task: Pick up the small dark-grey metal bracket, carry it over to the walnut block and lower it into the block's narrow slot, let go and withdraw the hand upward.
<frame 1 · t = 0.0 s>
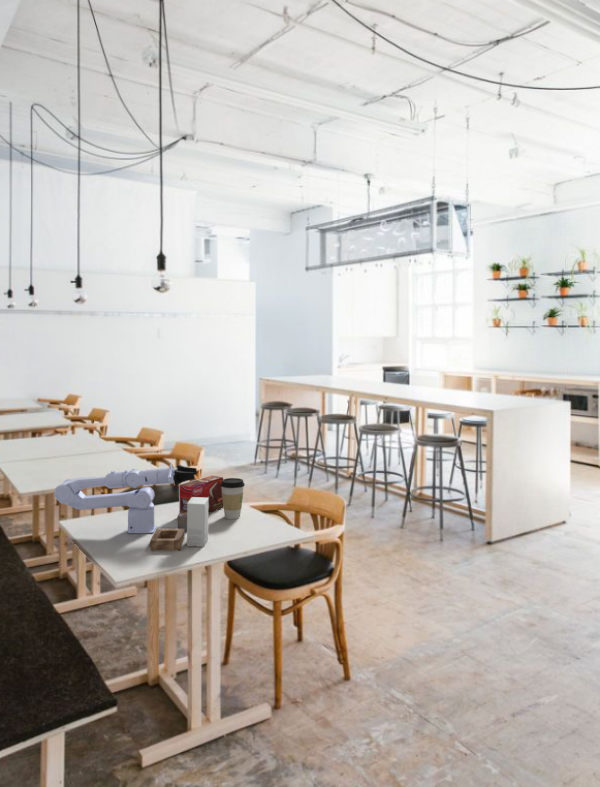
hand: (195, 473, 237), 22 cm above the table, tool horizontal, fingers open, 7 cm apart
skincare box: (198, 543, 225), on the table
ice cream box: (201, 512, 263), on the table
bracket: (183, 530, 239), on the table
coffee cup: (232, 517, 257), on the table
well block: (167, 544, 223), on the table
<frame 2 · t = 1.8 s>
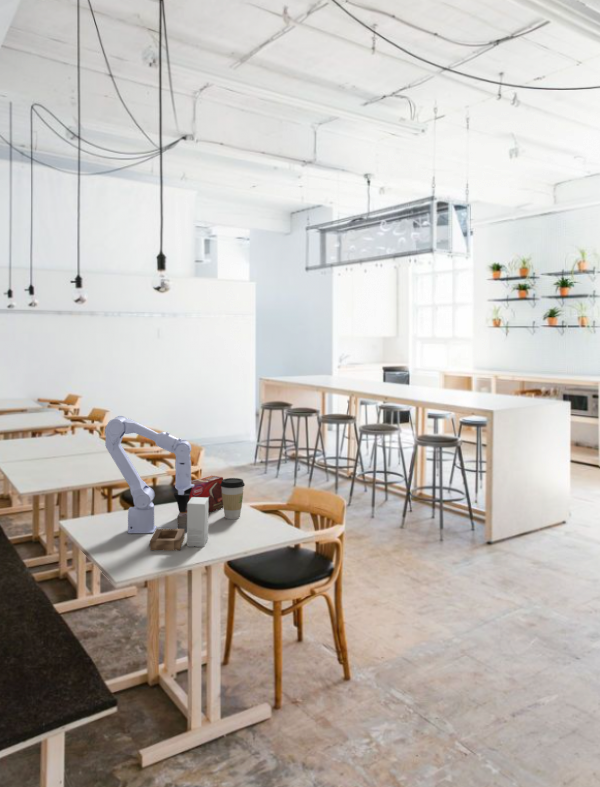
hand: (183, 509, 238), 8 cm above the table, tool pointing down, fingers open, 7 cm apart
nothing on the table moved.
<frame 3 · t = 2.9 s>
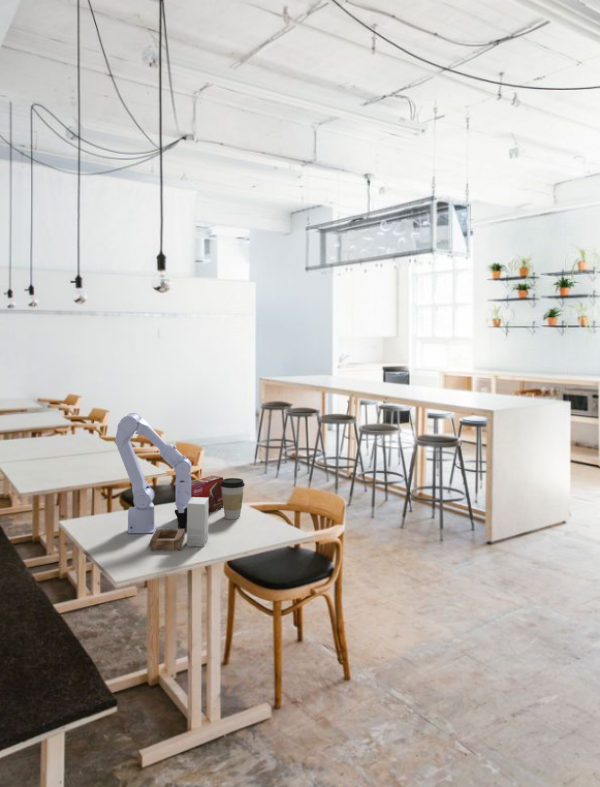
hand: (183, 526, 239), 1 cm above the table, tool pointing down, fingers closed on bracket, 4 cm apart
bracket: (183, 530, 239), on the table, touching gripper
everything else where it was.
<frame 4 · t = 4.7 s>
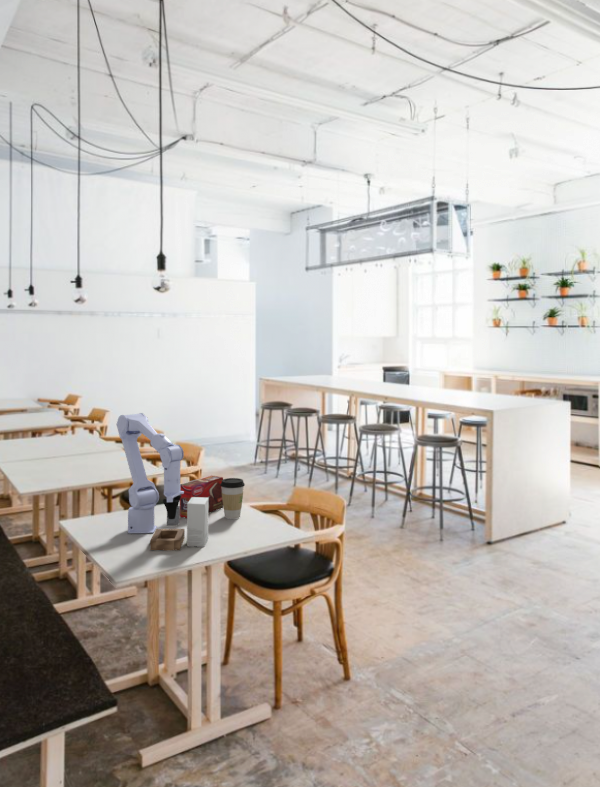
hand: (172, 517, 227), 8 cm above the table, tool pointing down, fingers closed on bracket, 4 cm apart
bracket: (173, 524, 227), point 6 cm above the table, touching gripper
everything else where it was.
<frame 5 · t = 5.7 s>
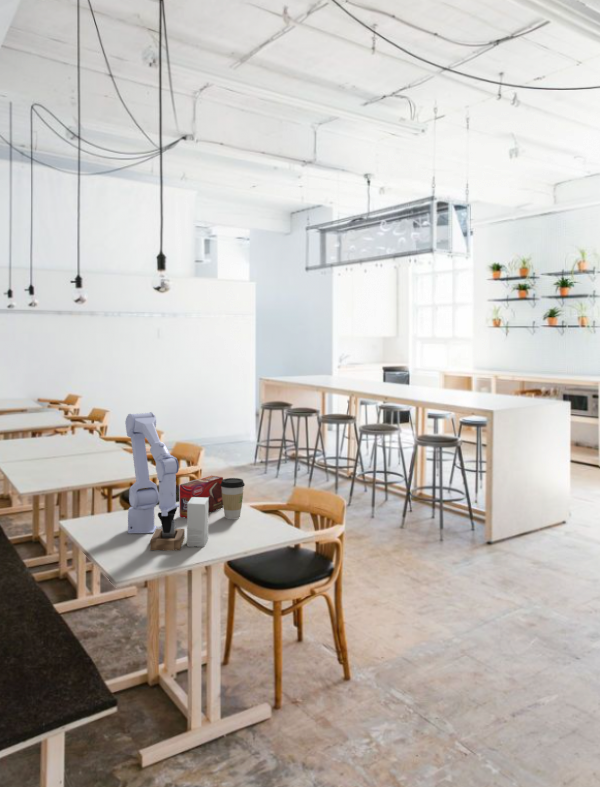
hand: (167, 530, 223), 5 cm above the table, tool pointing down, fingers closed on bracket, 4 cm apart
bracket: (168, 538, 223), point 2 cm above the table, touching gripper
everything else where it was.
when the fingers open (4 cm above the table, at t = 6.3 s): bracket stays where it is, resting on well block.
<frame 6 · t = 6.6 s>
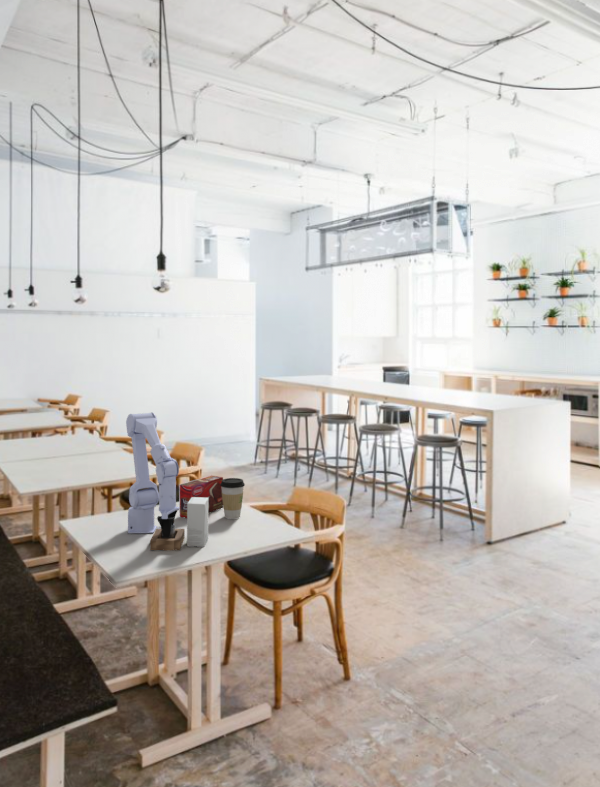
hand: (167, 533, 223), 4 cm above the table, tool pointing down, fingers open, 6 cm apart
bracket: (168, 543, 223), resting on well block
everything else where it was.
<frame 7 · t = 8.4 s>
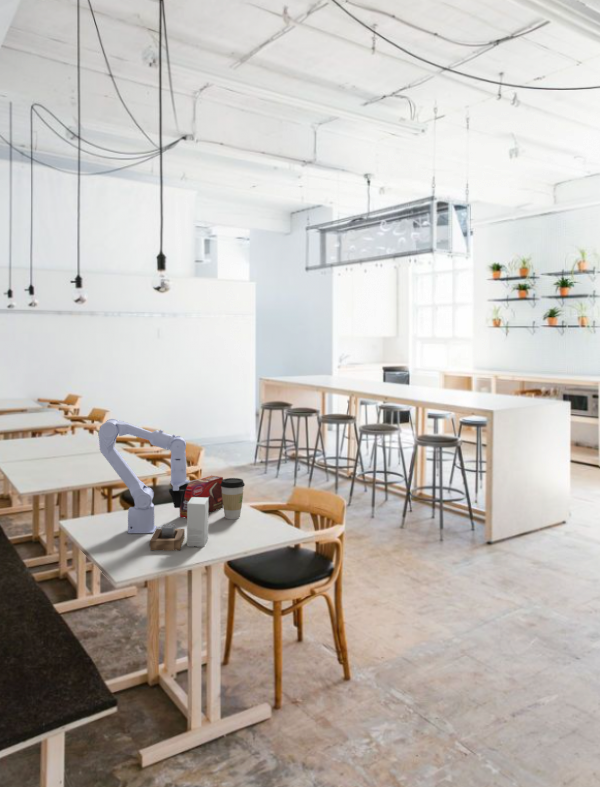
hand: (179, 504, 239), 9 cm above the table, tool pointing down, fingers open, 7 cm apart
nothing on the table moved.
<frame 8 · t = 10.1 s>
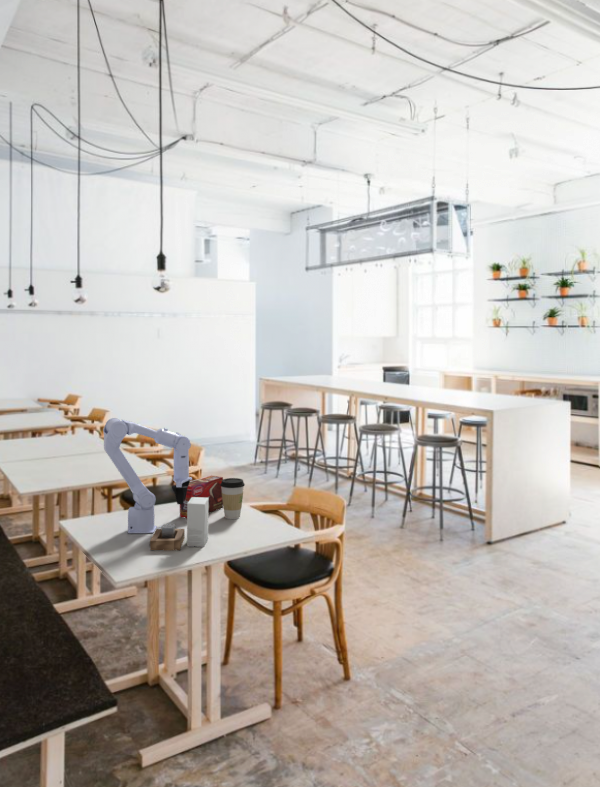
hand: (181, 501, 244), 9 cm above the table, tool pointing down, fingers open, 7 cm apart
nothing on the table moved.
at the end: bracket 0.3 cm off-centre on the well block, point 0.4 cm above the well block's base; bracket tilted 0°; the gripper is holding nothing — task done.
